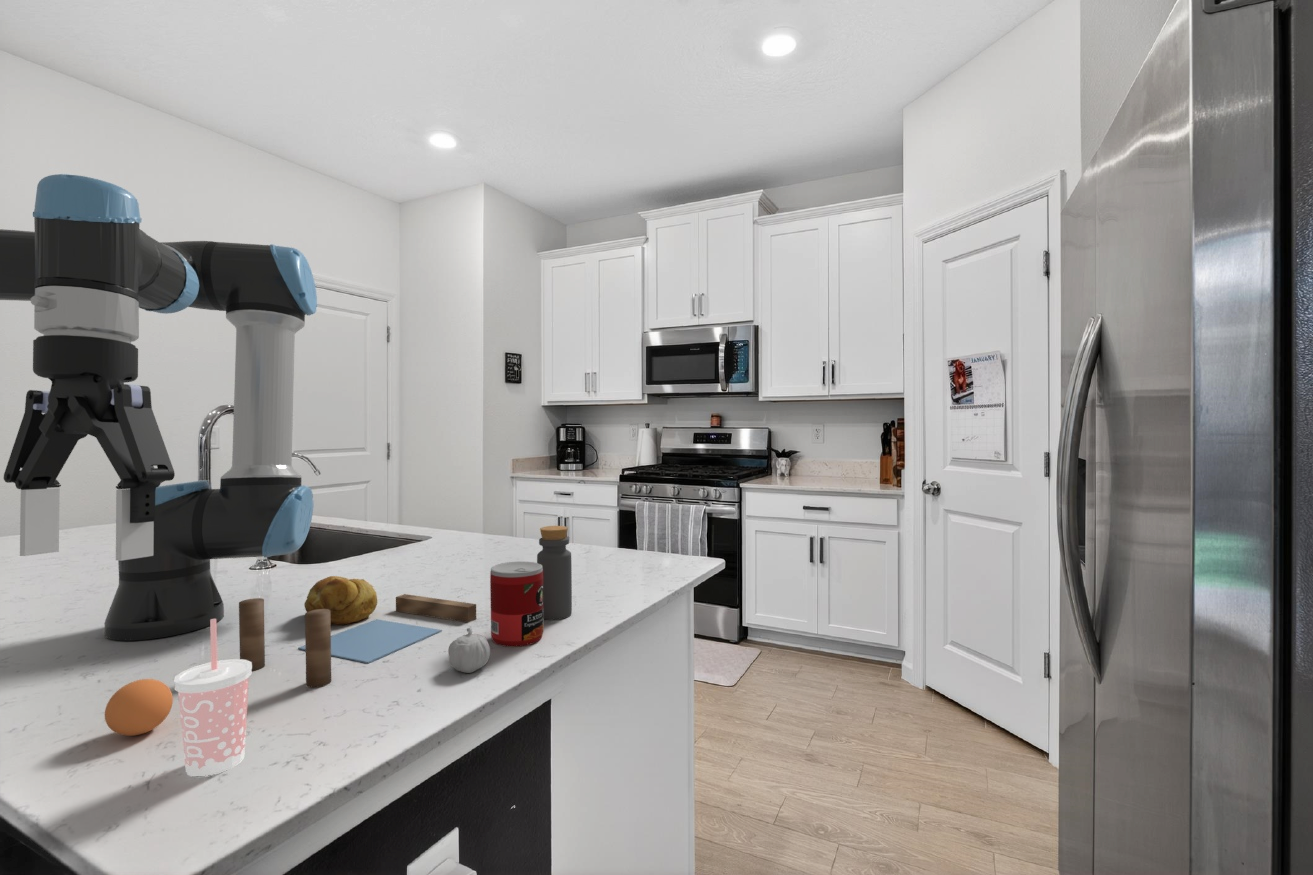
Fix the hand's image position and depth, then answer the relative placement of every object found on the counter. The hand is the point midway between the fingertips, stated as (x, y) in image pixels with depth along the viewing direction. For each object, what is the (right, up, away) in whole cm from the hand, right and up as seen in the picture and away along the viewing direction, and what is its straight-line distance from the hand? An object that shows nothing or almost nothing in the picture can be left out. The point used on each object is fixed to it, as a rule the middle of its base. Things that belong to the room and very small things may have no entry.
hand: (85, 556), depth 59 cm
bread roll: (+2, -19, +44) cm, 48 cm away
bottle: (+38, -19, +45) cm, 62 cm away
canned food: (+34, -19, +33) cm, 52 cm away
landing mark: (+12, -19, +33) cm, 40 cm away
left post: (+1, -20, +23) cm, 30 cm away
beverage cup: (+13, -20, -1) cm, 24 cm away
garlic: (+31, -20, +22) cm, 42 cm away
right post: (+13, -20, +18) cm, 29 cm away
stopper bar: (+18, -19, +45) cm, 52 cm away
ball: (+1, -17, +5) cm, 18 cm away
